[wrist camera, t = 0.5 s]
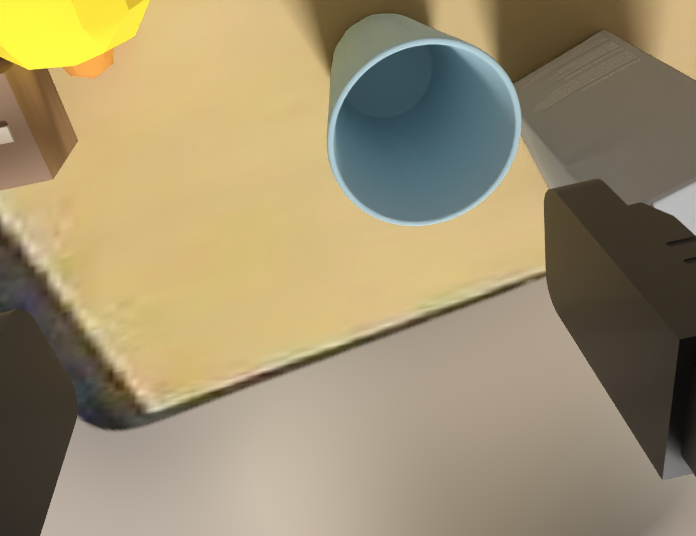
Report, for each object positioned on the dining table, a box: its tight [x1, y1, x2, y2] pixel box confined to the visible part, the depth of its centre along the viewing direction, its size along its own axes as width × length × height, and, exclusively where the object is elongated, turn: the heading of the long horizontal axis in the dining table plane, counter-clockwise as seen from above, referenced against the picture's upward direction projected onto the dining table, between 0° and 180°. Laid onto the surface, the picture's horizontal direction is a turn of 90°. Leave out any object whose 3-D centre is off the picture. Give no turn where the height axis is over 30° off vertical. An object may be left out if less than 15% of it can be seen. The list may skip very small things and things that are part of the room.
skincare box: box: [513, 30, 696, 235], centre depth 30 cm, size 8×7×16 cm
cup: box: [327, 13, 521, 226], centre depth 30 cm, size 8×8×10 cm
